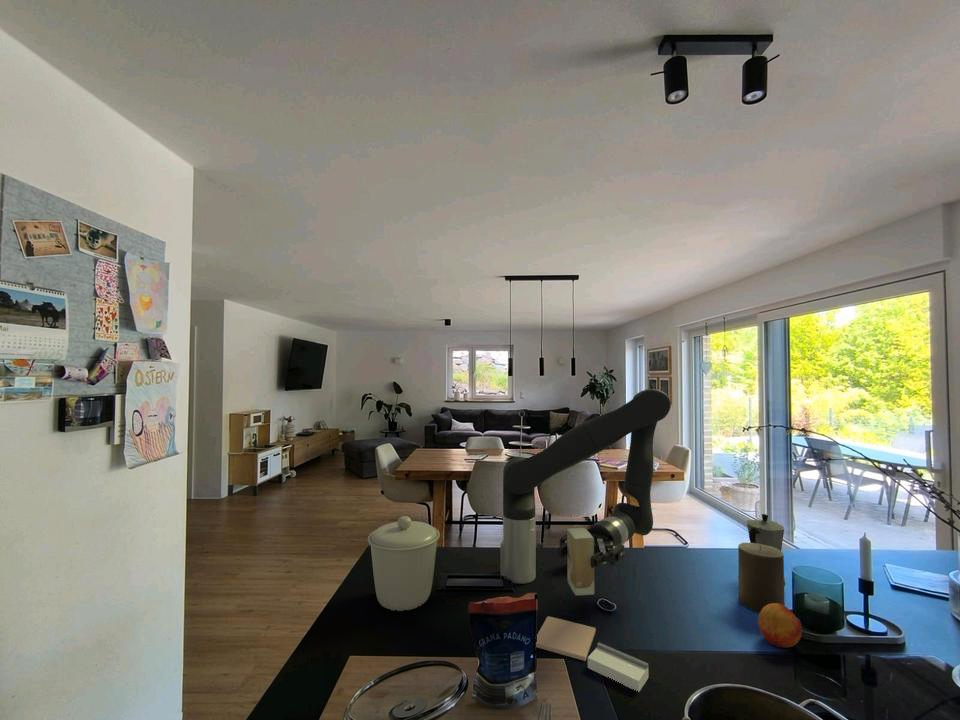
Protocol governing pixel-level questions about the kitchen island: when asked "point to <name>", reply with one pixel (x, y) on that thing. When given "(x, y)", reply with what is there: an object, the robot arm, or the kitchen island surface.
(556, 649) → the coaster
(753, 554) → the pillar candle
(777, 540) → the coffeepot
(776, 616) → the fruit
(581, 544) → the skincare box
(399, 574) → the canister
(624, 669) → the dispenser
